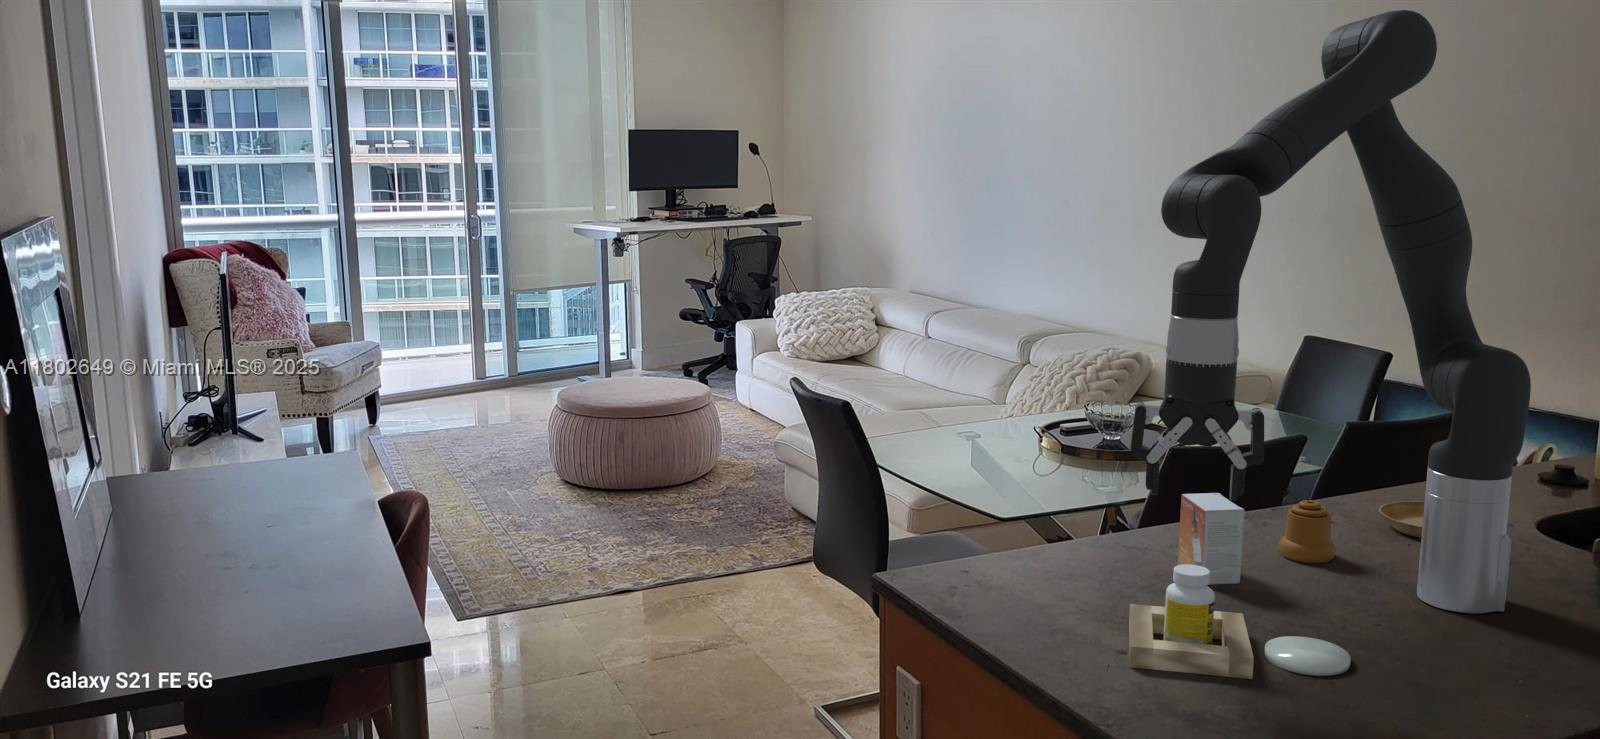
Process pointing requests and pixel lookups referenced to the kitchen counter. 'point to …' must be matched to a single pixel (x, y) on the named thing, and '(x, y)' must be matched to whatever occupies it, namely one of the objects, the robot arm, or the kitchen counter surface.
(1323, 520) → the ornamental finial
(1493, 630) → the kitchen counter surface
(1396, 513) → the plant saucer
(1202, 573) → the supplement bottle
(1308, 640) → the pale green pebble
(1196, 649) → the pocket block
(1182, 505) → the small box
